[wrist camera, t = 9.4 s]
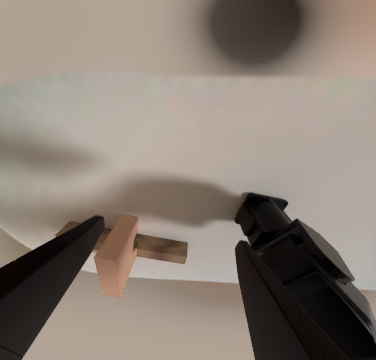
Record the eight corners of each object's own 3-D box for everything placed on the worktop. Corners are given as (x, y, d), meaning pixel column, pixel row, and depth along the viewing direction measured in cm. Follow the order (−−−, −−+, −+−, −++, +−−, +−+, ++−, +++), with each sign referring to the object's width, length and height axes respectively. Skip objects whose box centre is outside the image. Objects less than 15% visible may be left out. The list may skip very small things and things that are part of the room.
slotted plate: (138, 217, 25) (116, 261, 18) (136, 254, 31) (120, 297, 24) (122, 214, 25) (93, 257, 18) (123, 252, 31) (103, 295, 24)
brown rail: (187, 242, 28) (186, 257, 25) (185, 249, 29) (184, 264, 27) (69, 222, 27) (55, 234, 24) (71, 230, 28) (59, 243, 25)
